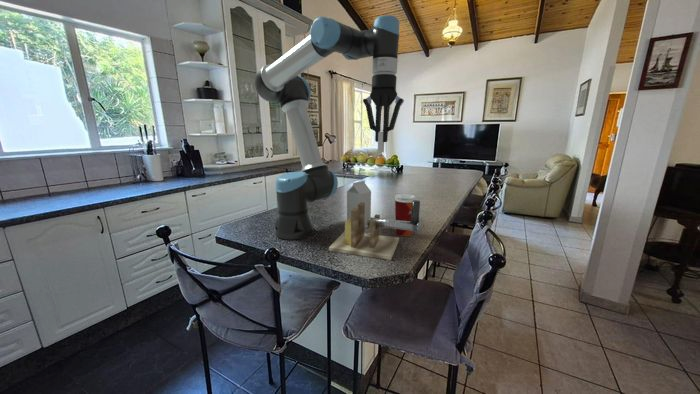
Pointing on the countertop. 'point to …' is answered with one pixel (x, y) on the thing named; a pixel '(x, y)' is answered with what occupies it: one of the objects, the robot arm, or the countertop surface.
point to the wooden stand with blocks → (365, 238)
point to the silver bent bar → (402, 225)
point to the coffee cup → (403, 211)
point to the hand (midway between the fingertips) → (380, 152)
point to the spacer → (348, 232)
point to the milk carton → (359, 199)
